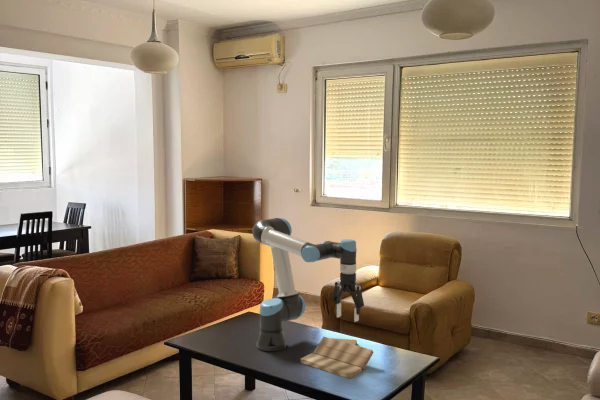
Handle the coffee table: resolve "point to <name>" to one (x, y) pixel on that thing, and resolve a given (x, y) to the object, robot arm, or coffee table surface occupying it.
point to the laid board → (331, 365)
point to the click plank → (344, 352)
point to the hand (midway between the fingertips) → (347, 318)
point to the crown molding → (347, 341)
